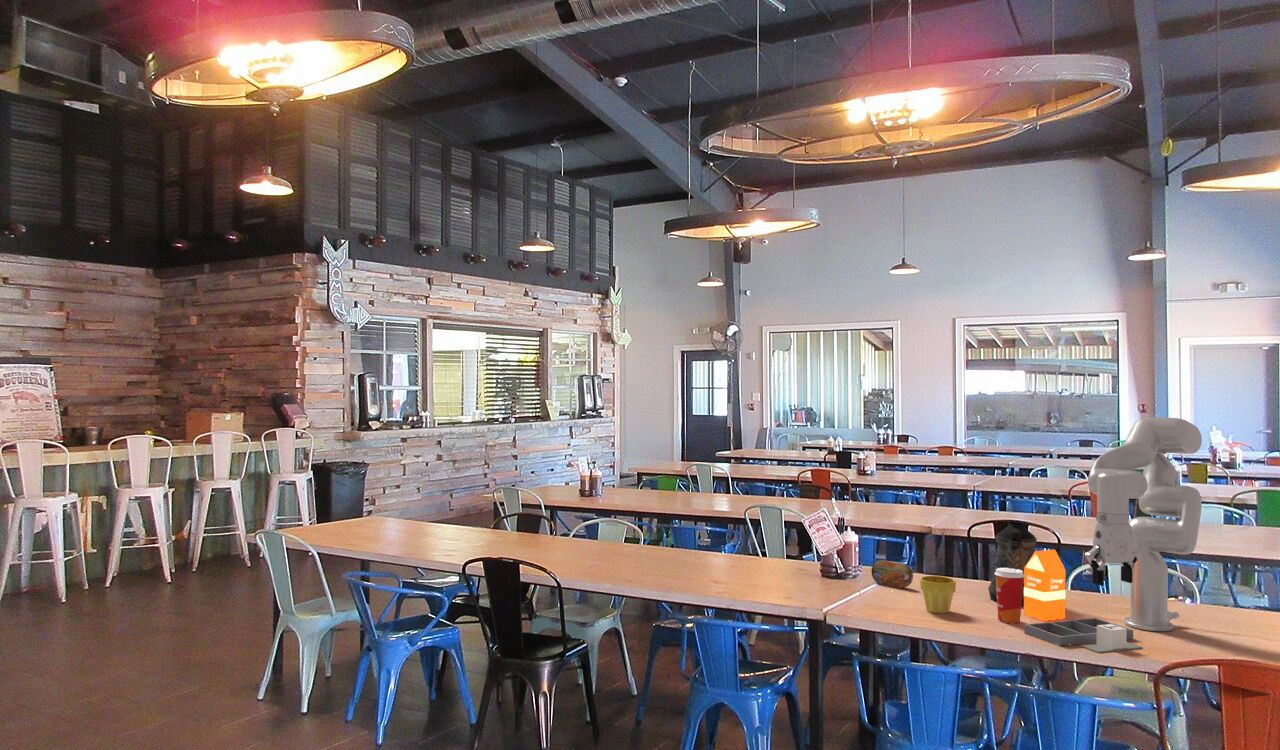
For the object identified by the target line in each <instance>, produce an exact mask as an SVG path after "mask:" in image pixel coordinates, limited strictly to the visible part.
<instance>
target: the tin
mask: <svg viewBox="0 0 1280 750" xmlns="http://www.w3.org/2000/svg"><path fill="white" fill-rule="evenodd" d="M870 572H871V576H872V578H873V580H874V581H875V582H876V584H879V585H880V586H881V585H882V586H887V587H892V588H898V589H902V588H907V587H908V586H910V585H911V584H912V583H913V578H914V573H913V570H912V568H911V567H910V565H908V564H906V563H903V562H899V561H898V562H897V561H892V560H891V561H889V560H884V559H883V560H881V559H880V560H877V561H875V562H874V563H873V565H872V566H871V571H870Z"/></svg>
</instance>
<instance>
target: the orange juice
mask: <svg viewBox="0 0 1280 750" xmlns="http://www.w3.org/2000/svg"><path fill="white" fill-rule="evenodd" d="M1024 576H1025V577H1024V606H1023V616H1024V615H1026V616H1025V617H1027V616H1029V617H1028V618H1031V617H1033V618H1032V619H1034V618H1036V619H1035V620H1038V619H1039V620H1038V621H1041V620H1043V621H1042V622H1049V621H1048V620H1051V621H1057V620H1056V619H1059V620H1064V619H1063V618H1065V619H1066V568H1065V567H1064V564H1063V563H1062V561H1061V559H1060V556H1059V555H1058V552H1057V551H1056V549H1049V550H1048V549H1046V550H1035V553H1034V554H1033V556H1032V557H1031V559H1030V560H1029V562H1028V563H1027V565H1026V566H1025V567H1024Z"/></svg>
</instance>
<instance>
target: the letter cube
mask: <svg viewBox="0 0 1280 750" xmlns="http://www.w3.org/2000/svg"><path fill="white" fill-rule="evenodd" d="M1113 624H1114V623H1112V624H1107V625H1097V643H1096V644H1098V645H1101V646H1103V647H1106V648H1109V649H1120V648H1126V642H1127V640H1126V637H1127V629H1125V628H1126V627H1125V628H1122V627H1123V626H1122V627H1119V626H1120V625H1119V626H1116V625H1117V624H1116V625H1113Z"/></svg>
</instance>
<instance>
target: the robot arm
mask: <svg viewBox="0 0 1280 750" xmlns="http://www.w3.org/2000/svg"><path fill="white" fill-rule="evenodd" d="M1202 439H1203V438H1202V433H1201V431H1200V429H1199V428H1198V427H1197V426H1196V425H1195V424H1193V423H1192V422H1189V421H1188V420H1185V419H1183V418H1179V417H1157V416H1146V417H1141V418H1139V419H1137V420H1136V421H1135V422H1134V423H1133V425H1132V427H1131V429H1130V430H1129V433H1128V435H1127V437H1126V438H1125V440H1124V443H1123V444H1122V445H1119V446H1117V447H1115V448H1113V449H1111V450H1108V451H1106V452H1105V453H1102V454H1101V455H1100V456H1099V457H1098V458H1097V459H1096V460H1095V461H1094V464H1093V465H1092V467H1091V470H1090V471H1089V473H1088V477H1087V487H1088V489H1089V492H1091V493H1092V494H1094V495H1096V516H1095V520H1096V524H1095V526H1094V533H1093V541H1092V548H1090V550H1089V551H1087V552H1085V554H1084V555H1085V558H1086V560H1087V564H1088V565H1089V567H1090V569H1092V584H1094V585H1098V586H1100V587H1101V586H1102V587H1103V586H1104V585H1105V570H1103V568H1104V566H1105V565H1106V564H1112V565H1113V564H1122V565H1120V581H1121V582H1125V583H1128V584H1129V583H1130V585H1129V586H1130V589H1129V590H1130V593H1129V594H1130V595H1129V598H1130V600H1129V601H1130V602H1129V616H1128V617H1127V616H1126V617H1125V618H1124V619H1123V623H1124V624H1125V625H1126V626H1128V627H1131V628H1134V629H1137V630H1143V631H1144V630H1145V631H1150V632H1170V631H1172V630H1174V628H1175V627H1174V624H1173V623H1172V622H1171V619H1179V618H1180V613H1178V611H1171V612H1170V610H1169V609H1168V608H1169V607H1168V603H1169V601H1168V600H1169V598H1168V597H1169V595H1168V593H1169V590H1168V589H1169V583H1168V582H1169V580H1168V579H1169V578H1168V577H1169V568H1168V565H1167V562H1166V561H1165V558H1163V556H1162V554H1160V553H1170V554H1177V555H1190V554H1192V553H1193V552H1194V551H1195V550H1196V546H1197V542H1198V535H1199V527H1200V522H1201V515H1202V503H1203V502H1202V496H1201V493H1200V492H1199V490H1198V489H1197V488H1195V487H1193V486H1190V485H1181V484H1176V479H1177V478H1176V477H1177V470H1176V469H1177V468H1175V466H1174V465H1173V463H1172V462H1171V460H1169V458H1168V457H1167V456H1166V455H1165V454H1164V453H1166V454H1180V455H1182V454H1183V455H1193V454H1196V453H1197V452H1198V451H1200V449H1201V446H1202V441H1203V440H1202ZM1140 468H1143V472H1140V471H1137V469H1140ZM1130 499H1132V500H1133V499H1138V506H1139V507H1138V508H1139V510H1141V512H1142V513H1144V514H1146V515H1152V516H1153V517H1152V516H1137V517H1134V518H1131V520H1129V519H1130V517H1129V516H1130V510H1129V509H1130V508H1129V507H1130V506H1129V505H1130V504H1129V503H1130ZM1154 516H1157V517H1154ZM1161 517H1166V518H1161ZM1170 518H1174V519H1170ZM1176 518H1177V519H1176Z"/></svg>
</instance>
